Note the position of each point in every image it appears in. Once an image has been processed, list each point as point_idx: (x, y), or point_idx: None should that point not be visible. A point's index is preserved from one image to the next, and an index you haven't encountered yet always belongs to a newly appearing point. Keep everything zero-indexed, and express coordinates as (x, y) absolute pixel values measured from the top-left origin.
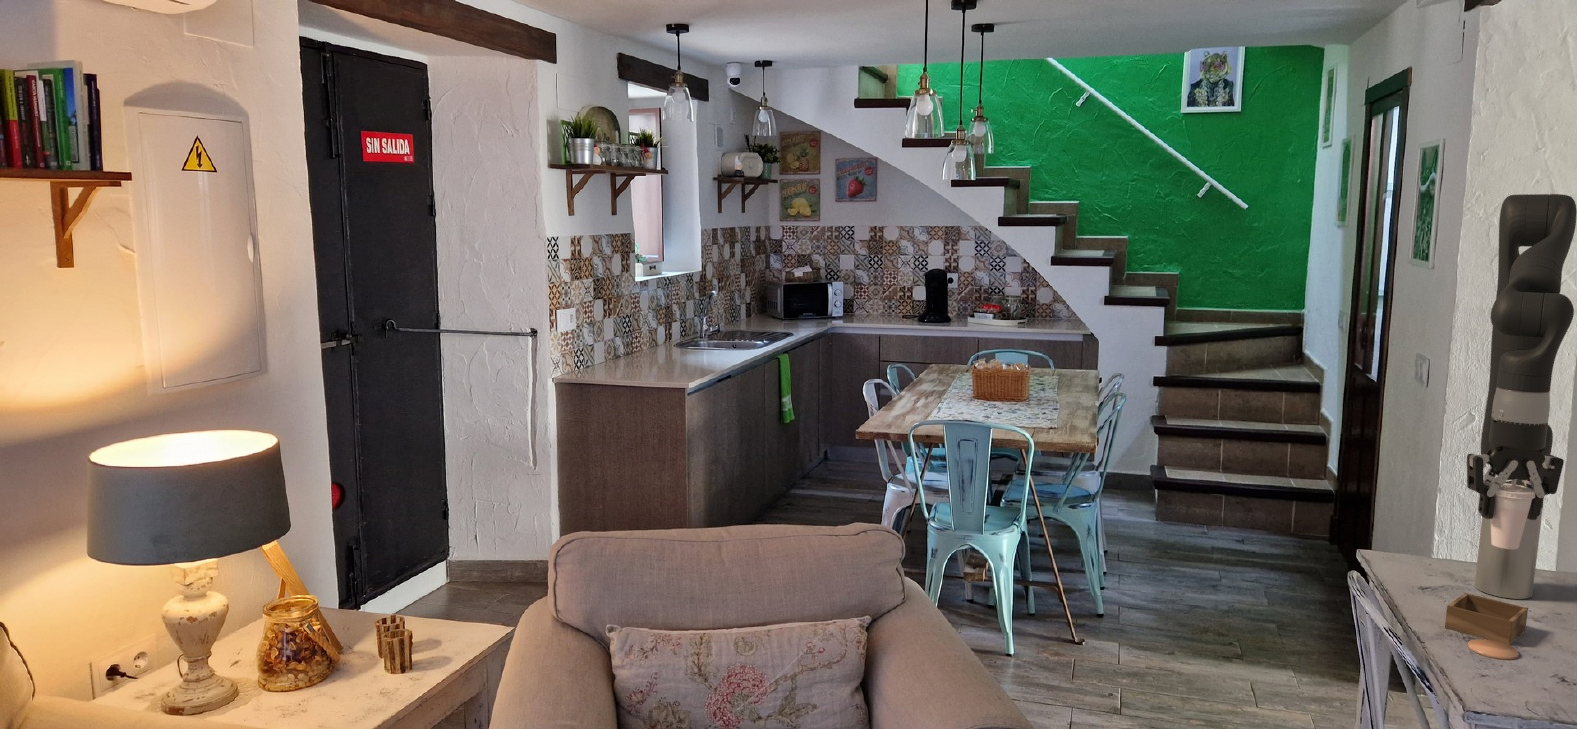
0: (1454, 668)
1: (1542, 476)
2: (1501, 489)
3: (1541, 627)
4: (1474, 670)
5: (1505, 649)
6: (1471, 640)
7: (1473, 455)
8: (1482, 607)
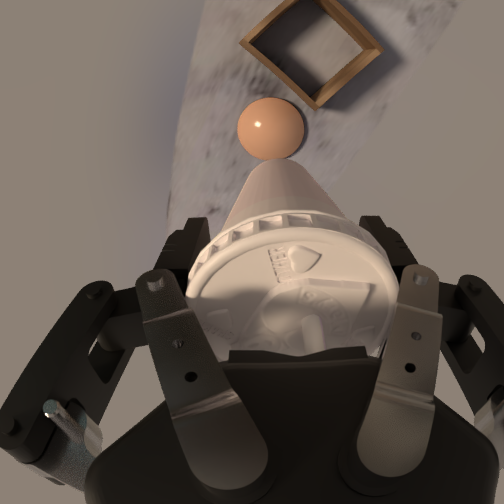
0: (185, 194)
1: (488, 334)
2: (225, 341)
3: (402, 42)
4: (208, 197)
5: (286, 135)
6: (252, 104)
7: (23, 463)
8: (328, 6)
